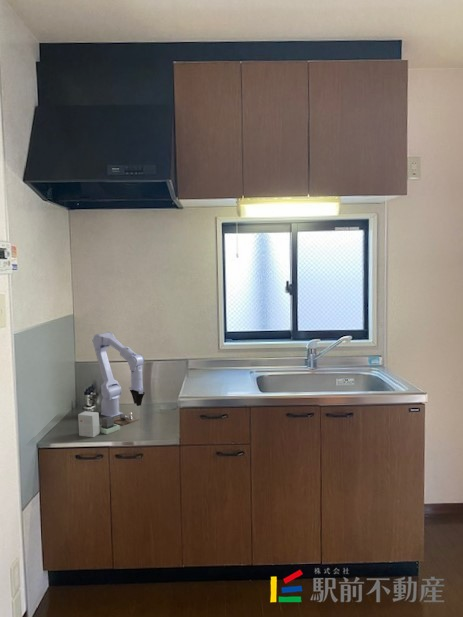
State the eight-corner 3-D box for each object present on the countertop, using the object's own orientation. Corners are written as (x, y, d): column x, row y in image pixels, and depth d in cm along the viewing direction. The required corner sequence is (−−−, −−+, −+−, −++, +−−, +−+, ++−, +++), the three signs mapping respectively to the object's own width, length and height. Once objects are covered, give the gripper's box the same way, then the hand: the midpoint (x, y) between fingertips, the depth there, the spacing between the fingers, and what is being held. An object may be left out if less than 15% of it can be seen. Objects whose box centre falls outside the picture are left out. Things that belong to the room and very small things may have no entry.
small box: (100, 433, 245) (99, 412, 244) (93, 437, 239) (92, 415, 238) (85, 432, 247) (84, 410, 246) (78, 435, 242) (77, 414, 241)
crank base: (108, 421, 263) (108, 419, 263) (124, 416, 271) (124, 413, 271) (122, 425, 256) (122, 423, 256) (138, 419, 265) (138, 417, 265)
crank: (118, 418, 263) (118, 410, 263) (123, 416, 266) (123, 409, 266) (129, 421, 258) (129, 413, 258) (135, 419, 261) (135, 412, 260)
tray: (95, 431, 248) (95, 426, 248) (109, 426, 255) (109, 422, 254) (106, 434, 243) (106, 430, 243) (119, 429, 250) (119, 425, 249)
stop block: (101, 430, 248) (101, 418, 248) (108, 427, 252) (108, 416, 251) (107, 431, 246) (106, 419, 245) (113, 429, 249) (113, 417, 249)
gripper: (125, 376, 267) (126, 401, 268) (133, 382, 254) (133, 409, 255) (138, 374, 270) (139, 400, 271) (146, 380, 257) (147, 407, 258)
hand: (137, 404), depth 263 cm, fingers open, 4 cm apart
